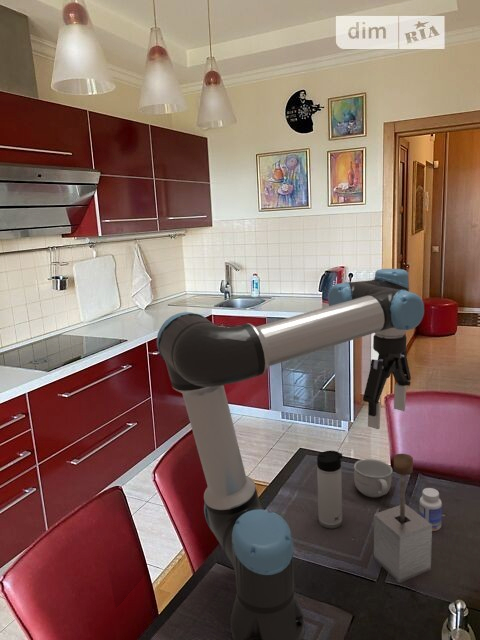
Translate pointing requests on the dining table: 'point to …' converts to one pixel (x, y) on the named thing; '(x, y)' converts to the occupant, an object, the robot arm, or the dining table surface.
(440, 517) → the pill bottle
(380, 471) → the teacup
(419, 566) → the grey block with hole
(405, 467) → the plunger
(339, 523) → the travel mug
